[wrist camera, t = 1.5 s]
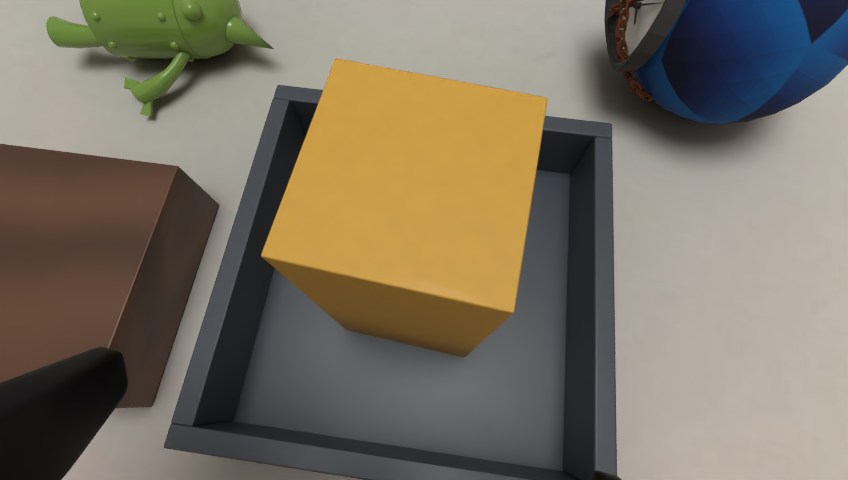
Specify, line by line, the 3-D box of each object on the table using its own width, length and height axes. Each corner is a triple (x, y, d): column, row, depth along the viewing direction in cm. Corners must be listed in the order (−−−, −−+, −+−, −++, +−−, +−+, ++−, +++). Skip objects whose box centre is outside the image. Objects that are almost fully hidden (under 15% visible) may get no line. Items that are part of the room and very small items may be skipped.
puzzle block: (465, 357, 19) (514, 313, 9) (345, 329, 20) (260, 256, 9) (486, 243, 21) (548, 96, 11) (377, 219, 22) (334, 56, 11)
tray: (576, 493, 18) (618, 520, 14) (216, 437, 19) (162, 448, 15) (581, 168, 23) (612, 123, 19) (300, 134, 24) (277, 84, 20)
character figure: (6, -140, 21) (253, -138, 21) (89, -70, 26) (287, -69, 26) (19, 105, 22) (257, 107, 22) (97, 125, 27) (290, 127, 27)
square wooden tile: (152, 407, 19) (85, 409, 15) (-60, 374, 19) (-174, 369, 16) (219, 204, 22) (178, 165, 19) (38, 180, 23) (-37, 138, 19)
